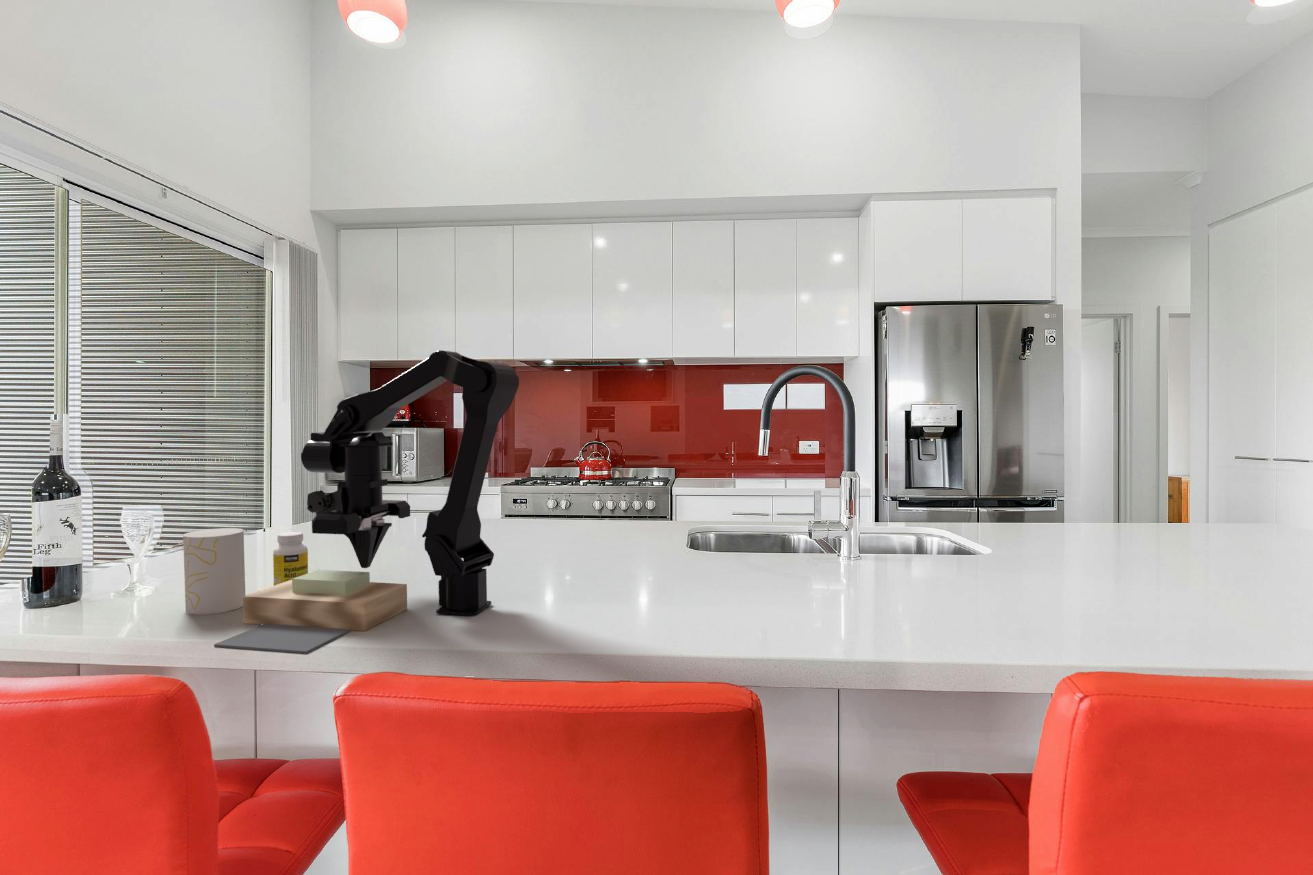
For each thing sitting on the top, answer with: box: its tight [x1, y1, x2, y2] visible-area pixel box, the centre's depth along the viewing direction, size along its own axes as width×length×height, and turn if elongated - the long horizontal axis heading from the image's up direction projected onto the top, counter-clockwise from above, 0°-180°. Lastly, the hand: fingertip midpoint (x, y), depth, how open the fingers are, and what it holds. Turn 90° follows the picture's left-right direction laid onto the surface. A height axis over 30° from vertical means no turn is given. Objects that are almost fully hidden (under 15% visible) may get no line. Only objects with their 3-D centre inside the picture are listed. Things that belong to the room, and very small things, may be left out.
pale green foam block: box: [292, 569, 371, 595], centre depth 107 cm, size 9×6×2 cm, turn 79°
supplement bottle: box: [272, 531, 309, 586], centre depth 122 cm, size 5×5×10 cm
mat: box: [213, 624, 351, 654], centre depth 96 cm, size 14×9×1 cm, turn 79°
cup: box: [182, 527, 246, 615], centre depth 111 cm, size 8×8×12 cm
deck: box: [242, 580, 408, 632], centre depth 106 cm, size 20×11×4 cm, turn 79°
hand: (365, 567), depth 115 cm, fingers closed
